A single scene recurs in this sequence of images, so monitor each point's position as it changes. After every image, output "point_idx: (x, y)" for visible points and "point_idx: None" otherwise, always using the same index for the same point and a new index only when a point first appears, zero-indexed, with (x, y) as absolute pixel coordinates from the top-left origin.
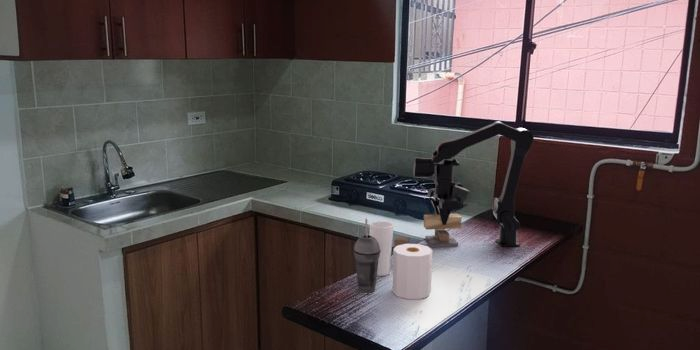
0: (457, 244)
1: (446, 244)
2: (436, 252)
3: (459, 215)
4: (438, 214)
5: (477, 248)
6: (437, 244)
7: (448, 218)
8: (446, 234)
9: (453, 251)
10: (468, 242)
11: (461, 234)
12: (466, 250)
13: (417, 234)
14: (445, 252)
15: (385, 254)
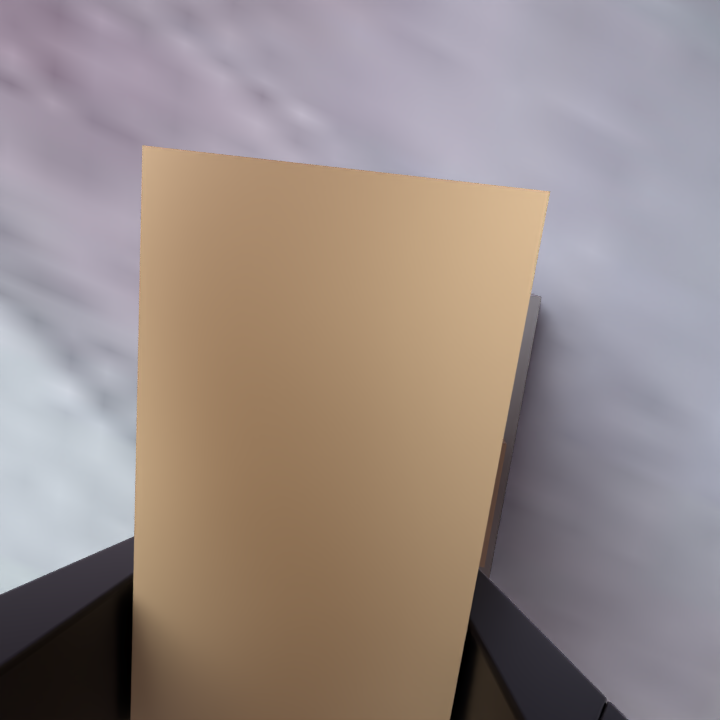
0: (534, 306)
1: (510, 441)
2: (654, 604)
3: (343, 180)
4: (135, 715)
5: (694, 84)
6: (492, 541)
7: (469, 583)
8: (498, 482)
9: (689, 427)
10: (437, 100)
11: (106, 50)
12: (713, 264)
13: (58, 563)
14: (688, 521)
15: None
